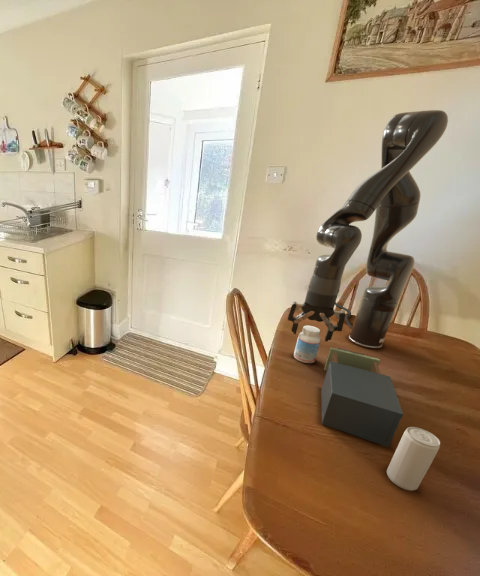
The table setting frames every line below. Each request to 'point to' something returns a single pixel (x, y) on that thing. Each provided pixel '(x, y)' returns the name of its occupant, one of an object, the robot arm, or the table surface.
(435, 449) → the beverage can
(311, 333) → the pill bottle
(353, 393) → the cabinet
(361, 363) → the drawer
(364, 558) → the table surface
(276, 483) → the table surface
